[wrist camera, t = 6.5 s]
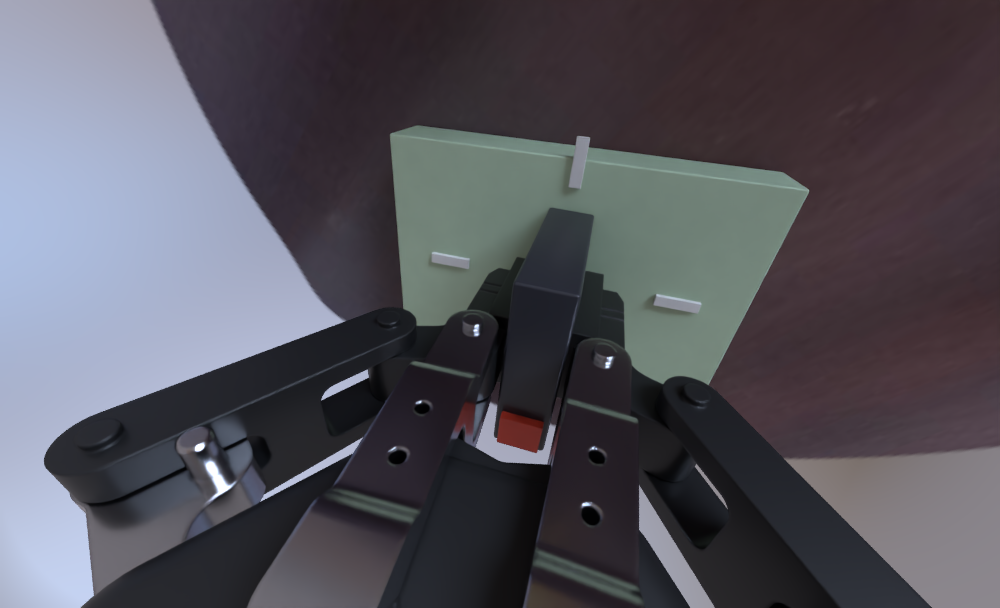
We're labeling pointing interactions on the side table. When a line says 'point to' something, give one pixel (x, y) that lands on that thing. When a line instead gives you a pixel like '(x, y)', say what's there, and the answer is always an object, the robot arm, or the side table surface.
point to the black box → (541, 327)
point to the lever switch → (593, 233)
